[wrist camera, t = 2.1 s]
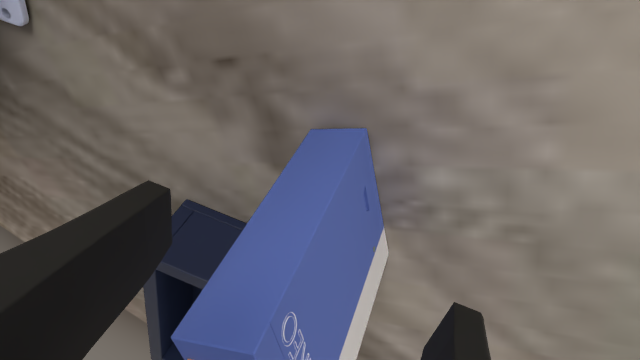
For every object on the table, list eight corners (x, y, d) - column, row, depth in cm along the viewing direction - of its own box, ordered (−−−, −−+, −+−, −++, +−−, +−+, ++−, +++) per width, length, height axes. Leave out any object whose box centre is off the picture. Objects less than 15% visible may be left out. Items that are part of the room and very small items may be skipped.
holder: (186, 306, 36) (150, 359, 32) (186, 198, 28) (138, 252, 24) (267, 342, 35) (239, 400, 31) (290, 240, 27) (256, 303, 23)
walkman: (310, 128, 22) (160, 348, 13) (367, 127, 21) (248, 366, 12) (340, 250, 26) (244, 478, 17) (389, 255, 25) (314, 500, 16)
